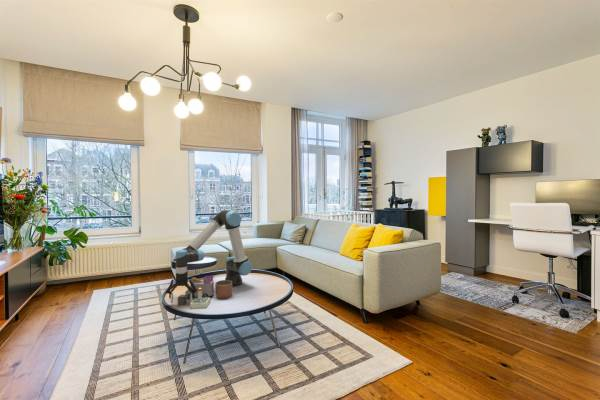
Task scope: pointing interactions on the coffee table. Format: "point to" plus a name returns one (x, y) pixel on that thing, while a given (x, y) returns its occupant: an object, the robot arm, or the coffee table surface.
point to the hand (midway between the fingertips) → (181, 302)
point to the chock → (182, 300)
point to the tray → (200, 305)
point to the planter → (223, 289)
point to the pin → (199, 294)
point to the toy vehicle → (206, 284)
